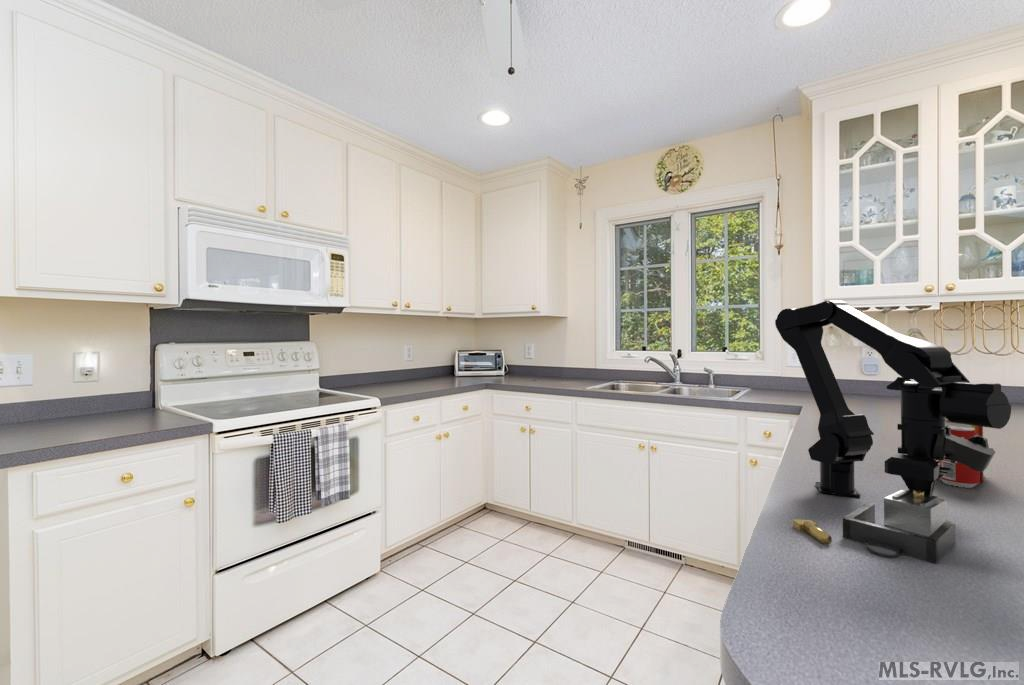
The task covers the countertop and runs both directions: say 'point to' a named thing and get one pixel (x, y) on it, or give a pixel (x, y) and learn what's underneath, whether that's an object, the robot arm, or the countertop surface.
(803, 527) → the gold elongated piece
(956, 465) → the beverage can
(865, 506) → the bracket
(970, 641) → the countertop surface
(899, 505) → the block
